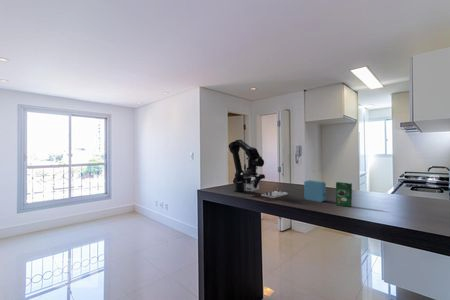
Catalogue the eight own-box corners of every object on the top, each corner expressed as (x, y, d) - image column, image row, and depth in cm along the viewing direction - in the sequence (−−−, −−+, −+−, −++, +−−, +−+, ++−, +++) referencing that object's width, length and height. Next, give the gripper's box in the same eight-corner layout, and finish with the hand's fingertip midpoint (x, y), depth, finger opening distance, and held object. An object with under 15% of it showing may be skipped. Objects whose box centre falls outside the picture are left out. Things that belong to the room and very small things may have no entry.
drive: (245, 190, 156) (245, 183, 156) (252, 188, 164) (252, 182, 164) (251, 191, 153) (251, 184, 153) (259, 188, 161) (258, 182, 161)
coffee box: (352, 206, 125) (352, 182, 125) (351, 207, 122) (351, 183, 122) (336, 204, 129) (336, 181, 129) (335, 205, 127) (335, 182, 127)
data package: (326, 201, 138) (325, 181, 138) (322, 202, 135) (322, 182, 135) (307, 198, 147) (307, 180, 147) (304, 199, 144) (303, 180, 144)
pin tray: (261, 195, 156) (261, 191, 156) (276, 192, 167) (275, 188, 167) (273, 198, 148) (273, 193, 148) (287, 194, 159) (287, 189, 159)
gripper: (234, 166, 160) (235, 187, 160) (254, 167, 146) (254, 191, 146) (245, 165, 168) (245, 185, 168) (265, 166, 154) (265, 189, 154)
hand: (252, 187), depth 159 cm, fingers closed on drive, 5 cm apart
